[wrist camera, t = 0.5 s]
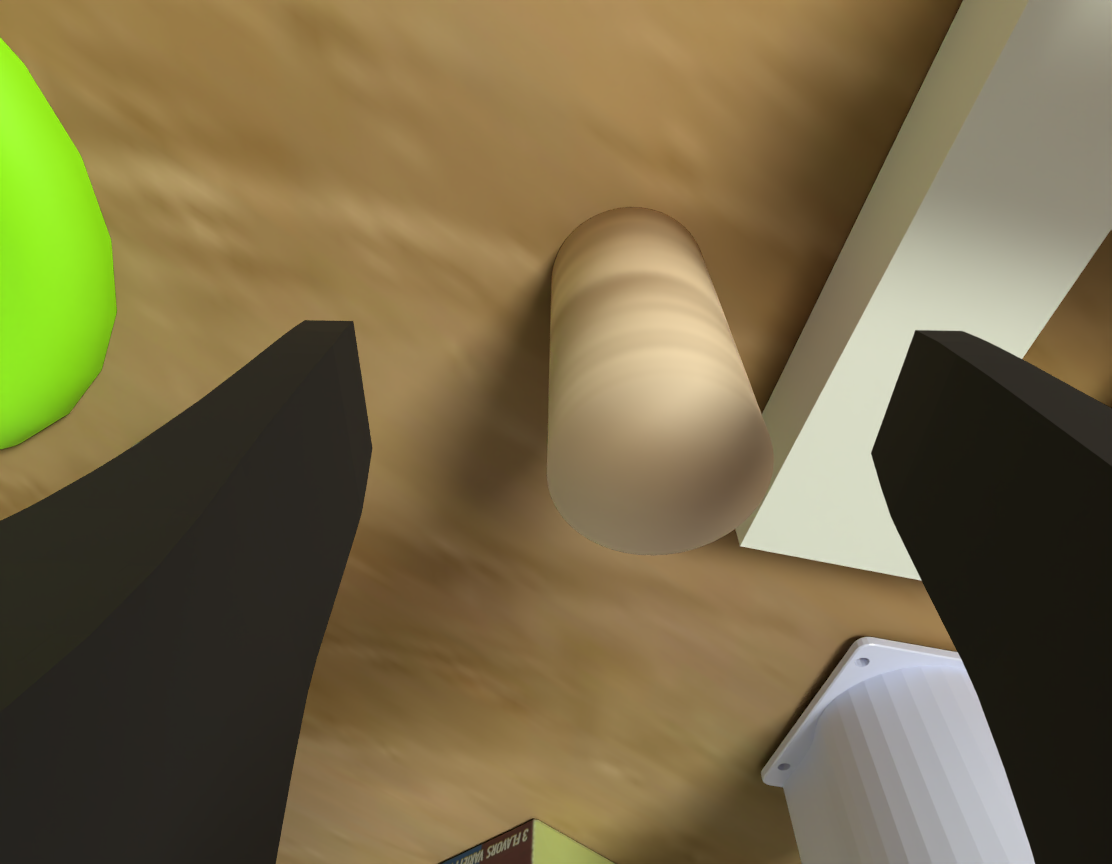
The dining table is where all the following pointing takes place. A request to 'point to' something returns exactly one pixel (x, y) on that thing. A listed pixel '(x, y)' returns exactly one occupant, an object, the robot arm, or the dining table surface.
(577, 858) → the protein box
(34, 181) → the wineglass
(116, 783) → the robot arm
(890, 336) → the socket board
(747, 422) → the peg
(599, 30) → the dining table surface
